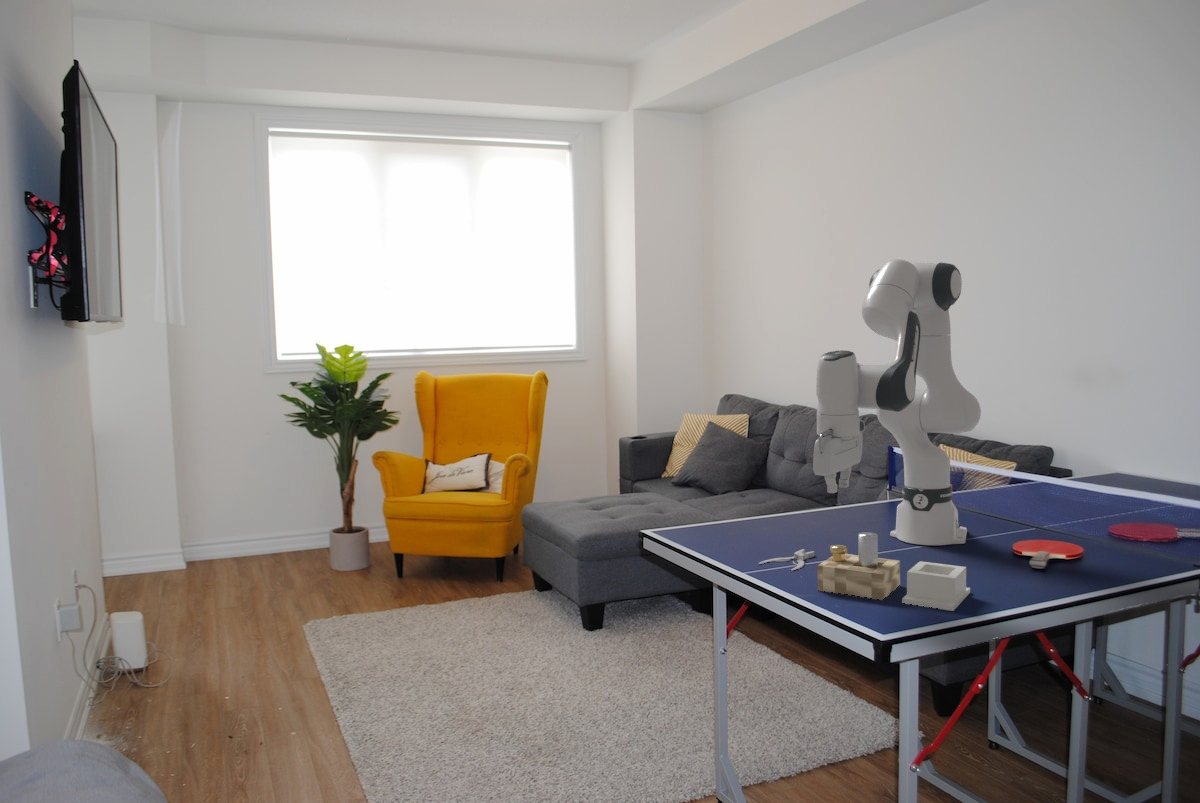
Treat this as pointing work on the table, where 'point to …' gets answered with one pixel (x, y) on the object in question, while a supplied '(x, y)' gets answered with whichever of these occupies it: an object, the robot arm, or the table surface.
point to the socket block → (859, 577)
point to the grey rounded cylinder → (868, 550)
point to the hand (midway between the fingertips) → (838, 489)
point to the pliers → (798, 555)
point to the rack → (936, 585)
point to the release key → (838, 552)
